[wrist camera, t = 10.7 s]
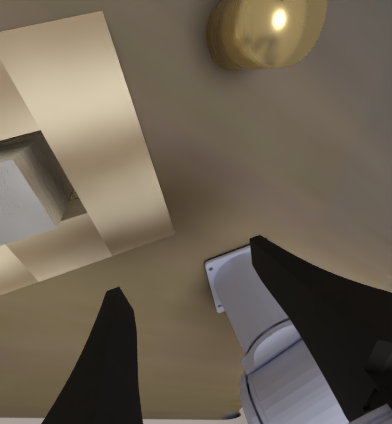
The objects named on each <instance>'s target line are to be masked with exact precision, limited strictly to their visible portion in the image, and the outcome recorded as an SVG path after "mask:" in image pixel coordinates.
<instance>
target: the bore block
mask: <svg viewBox="0 0 392 424" xmlns="http://www.w3.org/2000/svg"><path fill="white" fill-rule="evenodd" d="M38 130H41V132H42V133H43V135H44V137H45V139H46V140H47V142H48V144H49V146H50V147H51V149H52V151H53V153H54V154H55V156H56V158H57V160H58V162H59V163H60V165H61V167H62V169H63V170H64V172H65V174H66V176H67V177H68V179H69V181H70V183H71V184H72V186H73V188H74V190H75V191H76V193H77V195H78V197H79V198H77V199H74V200H71V201H68V203H67V206H66V208H65V211H64V213H63V216H62V218H61V221H60V223H59V226H58V228H57V229H54V230H51V231H48V232H44V233H41V234H38V235H34V236H31V237H28V238H24V239H21V240H17V241H14V242H11V243H7V244H4V245H1V246H0V295H3V294H5V293H8V292H11V291H14V290H17V289H20V288H23V287H25V286H28V285H31V284H34V283H37V282H40V281H43V280H46V279H48V278H51V277H54V276H57V275H60V274H63V273H66V272H69V271H71V270H74V269H77V268H80V267H83V266H86V265H89V264H92V263H94V262H97V261H100V260H103V259H106V258H109V257H112V256H114V255H117V254H120V253H123V252H126V251H129V250H132V249H135V248H137V247H140V246H143V245H146V244H149V243H152V242H155V241H158V240H160V239H163V238H166V237H169V236H172V235H175V231H174V228H173V225H172V222H171V219H170V216H169V213H168V209H167V206H166V203H165V200H164V197H163V194H162V191H161V188H160V185H159V182H158V179H157V176H156V173H155V170H154V167H153V164H152V161H151V158H150V155H149V152H148V149H147V146H146V143H145V139H144V136H143V133H142V130H141V127H140V124H139V121H138V118H137V115H136V112H135V109H134V106H133V103H132V100H131V97H130V94H129V91H128V88H127V85H126V82H125V79H124V76H123V73H122V70H121V66H120V63H119V60H118V57H117V54H116V51H115V48H114V45H113V42H112V39H111V36H110V33H109V30H108V27H107V24H106V21H105V18H104V15H103V12H102V11H99V12H94V13H89V14H84V15H79V16H75V17H70V18H65V19H60V20H55V21H50V22H46V23H41V24H36V25H31V26H26V27H22V28H17V29H12V30H7V31H2V32H0V141H1V140H4V139H8V138H12V137H16V136H20V135H23V134H27V133H31V132H35V131H38Z"/></svg>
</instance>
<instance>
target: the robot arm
mask: <svg viewBox="0 0 392 424" xmlns="http://www.w3.org/2000/svg"><path fill="white" fill-rule="evenodd" d="M210 267H211V268H210ZM205 269H206V272H207V276H208V280H209V284H210V288H211V292H212V295H213V299H214V303H215V307H216V310H217V312H218V313H221V312H224V311H225V312H226V314H227V317H228V319H229V321H230V323H231V325H232V328H233V330H234V332H235V334H236V337H237V339H238V341H239V343H240V345H241V348H242V350H243V352H244V354H245V357H244V358H243V359H241V363H242V366H243V368H244V370H245V373H243V375H242V376H241V379H240V398H241V403H242V407H243V410H244V413H245V416H246V419H247V421H248V424H392V293H391V292H388V291H384V290H380V289H377V288H373V287H370V286H367V285H364V284H361V283H358V282H355V281H352V280H349V279H346V278H343V277H341V276H338V275H335V274H333V273H331V272H328V271H326V270H323V269H321V268H319V267H317V266H315V265H312V264H310V263H308V262H306V261H304V260H302V259H300V258H299V257H297V256H295V255H293V254H291V253H289V252H288V251H286V250H284V249H282V248H281V247H279V246H277V245H276V244H274V243H272V242H271V241H270V240H269V239H266V238H264V237H262V236H261V235H259V236H256V237H253V238H250V245H249V246H246V247H244V248H241V249H238V250H236V251H233V252H230V253H227V254H225V255H222V256H219V257H217V258H214V259H211V260H209V261H207V262H206V263H205ZM42 424H143V420H142V413H141V404H140V396H139V387H138V363H137V331H136V323H135V316H134V310H133V309H132V307H131V305H130V304H129V302H128V300H127V299H126V297H125V295H124V294H123V292H122V290H121V289H120V287H117V288H114V289H111V290H109V291H107V292H106V294H105V297H104V300H103V303H102V305H101V308H100V311H99V313H98V316H97V319H96V321H95V323H94V326H93V328H92V331H91V333H90V336H89V338H88V340H87V342H86V344H85V347H84V349H83V351H82V353H81V355H80V357H79V359H78V361H77V363H76V365H75V367H74V369H73V371H72V373H71V375H70V377H69V379H68V380H67V382H66V384H65V386H64V388H63V389H62V391H61V393H60V394H59V396H58V398H57V399H56V401H55V403H54V405H53V406H52V408H51V409H50V411H49V413H48V414H47V416H46V417H45V419H44V420H43V422H42Z"/></svg>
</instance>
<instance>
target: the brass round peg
mask: <svg viewBox="0 0 392 424" xmlns="http://www.w3.org/2000/svg"><path fill="white" fill-rule="evenodd" d="M326 9H327V0H222V1H220V2H219V3H218V4H217V6H216V7H215V8H214V10H213V11H212V13H211V16H210V18H209V21H208V25H207V44H208V48H209V51H210V54H211V56H212V57H213V59H214V60H215V62H216V63H217V64H218V65H220V66H221V67H223V68H225V69H228V70H243V69H263V68H284V67H289V66H292V65H294V64H296V63H298V62H299V61H300V60H302V59H303V58H304V57H305V56H306V55H307V54H308V53H309V52H310V50H311V49H312V48H313V46H314V45H315V43H316V41H317V39H318V37H319V35H320V33H321V30H322V28H323V24H324V21H325V16H326Z"/></svg>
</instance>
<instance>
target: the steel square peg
mask: <svg viewBox="0 0 392 424" xmlns="http://www.w3.org/2000/svg"><path fill="white" fill-rule="evenodd" d="M72 191H73V186H72V184H71V183H70V181H69V179H68V177H67V176H66V174H65V172H64V170H63V169H62V167H61V165H60V163H59V162H58V160H57V158H56V156H55V154H54V153H53V151H52V149H51V147H50V146H49V144H48V142H47V140H46V139H45V137H44V135H43V133H41V134H37V135H33V136H28V137H24V138H20V139H16V140H11V141H7V142H3V143H0V246H1V245H4V244H7V243H11V242H14V241H17V240H21V239H24V238H28V237H31V236H34V235H38V234H41V233H44V232H48V231H51V230H54V229H57V228H58V226H59V223H60V221H61V218H62V216H63V213H64V211H65V208H66V206H67V203H68V201H69V198H70V196H71V193H72Z"/></svg>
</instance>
